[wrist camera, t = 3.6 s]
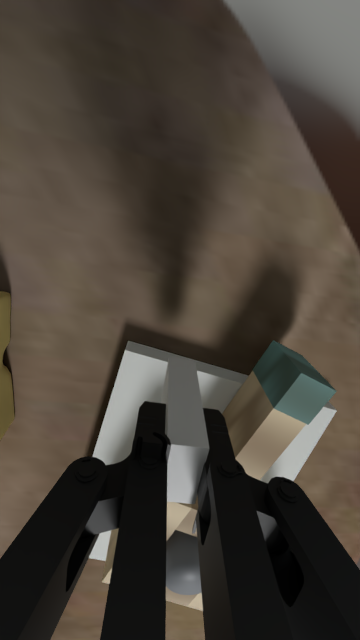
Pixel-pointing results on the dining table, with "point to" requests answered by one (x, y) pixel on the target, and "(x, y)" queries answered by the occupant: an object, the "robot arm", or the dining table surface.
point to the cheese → (3, 402)
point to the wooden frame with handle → (255, 431)
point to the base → (216, 393)
